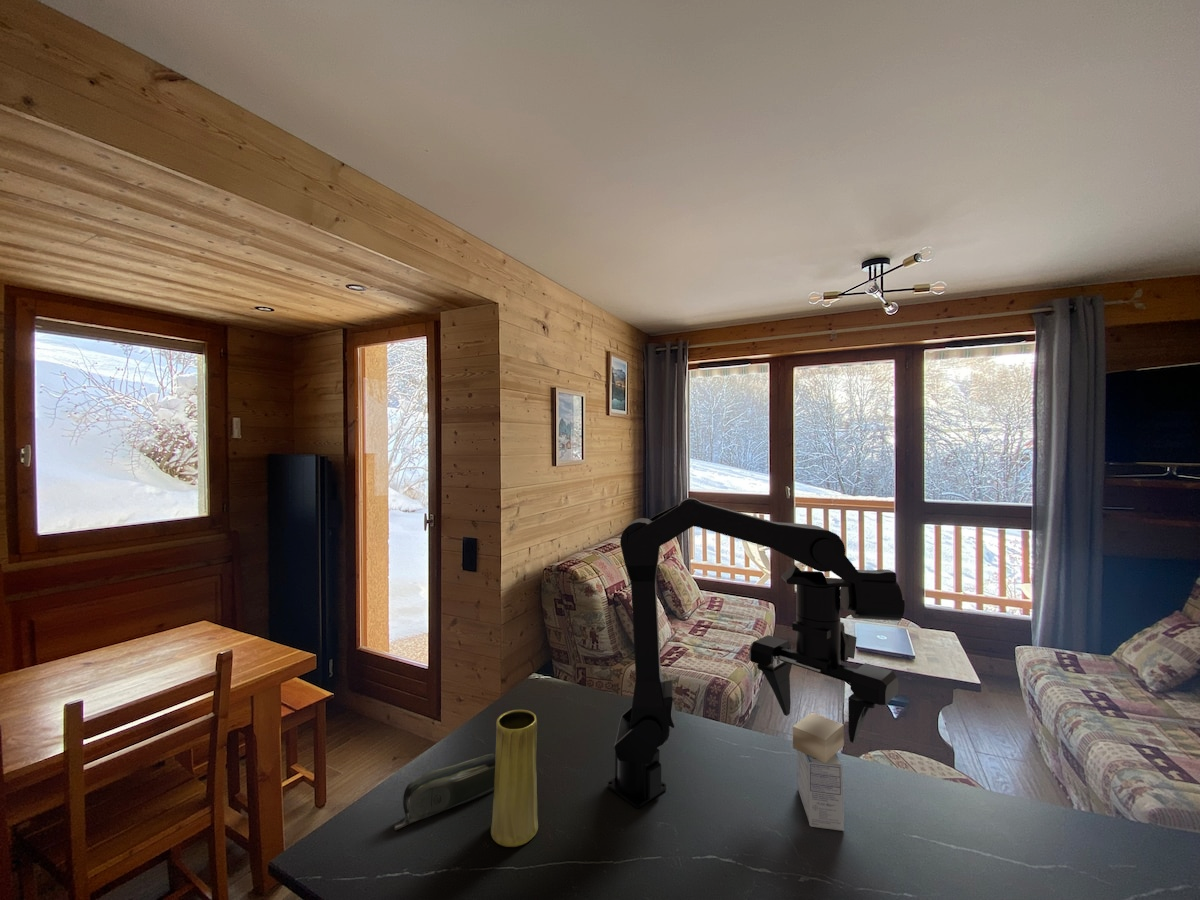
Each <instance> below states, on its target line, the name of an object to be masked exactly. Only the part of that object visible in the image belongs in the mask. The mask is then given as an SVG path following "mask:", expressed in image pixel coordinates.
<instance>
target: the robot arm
mask: <svg viewBox="0 0 1200 900" xmlns="http://www.w3.org/2000/svg"><path fill="white" fill-rule="evenodd" d="M693 527H695V528H699V529H703V530H707V531H710V532H713V533H716V534H717V533H718V534H721V535H724V536H727V537H730V538H733V539H734V538H735V539H737V540H742V541H745V542H748V543H751V544H756V545H759V546H762V547H766V548H770V549H772V550H774V551H777V552H778V553H780V554H783V555H784V556H786V557H788V558H790V559H792V560H794V561H796V562H798V563H800V564H803V565H805V566H807V567H809V568H811V569H813V570H801V569H800V568H799V567H798V566H797V565H796V564H792V565H791V567H790V568H789V569H788V570H787V571H785V572H784V573H782V574H781V577H780V578H781V579H782V580H783V581H785V583H786V584H787V585H793V586H795V585H796V587H795V590H796V597H795V598H796V599H795V600H796V601H795V603H796V604H795V605H796V611H795V612H796V615H795V617H796V619H795V621H793V622H792V624H791V625H792V626H791V627H792V628H791V629H792V631H795V633H796V634H795V635H796V637H795V638H796V649H795V650H793V649H792V644H791V643H790V641H789V640H786V639H783V638H780V637H777V636H772V635H770V634H768V635H766V636H765V635H764V636H763V637H761V638H759V639H757V640H754V641H753V642H752V643H751V644H750V646H749V648H748V649H749V651H748V652H749V653H748V654H749V655H748V657H749V659H748V660H750V663H751V662H752V663H754V664H756V665H757V666H756V667H757V669H758V670H759V671H761V672H762V673H763V676H764V677H765V678H766V681H767V682H768V684H769V686H770V687H771V690H772V692H773V693H774V695H775V698H776V699H777V702H778V704H779V706H780V709H781V711H782V713H783V715H784V716H785V717H787V716H789V715H790V713H791V703H792V702H791V701H792V699H791V681H790V679H791V678H790V677H791V676H790V675H791V674H790V673H791V669H792V666H796V667H800V668H802V669H805V670H808V671H811V672H814V673H815V672H816V673H818V674H820V675H821V674H822V675H823V676H827V677H829V678H833V679H836V680H840V681H842V682H846V683H849V684H850V691H852V694H851V695H850V696H848V702H847V704H848V711H847V714H848V718H847V719H848V723H847V724H848V726H847V727H848V728H847V729H848V738H849V742H850V743H852V744H854V743H855V742H856V740H857V739H858V736H859V733H860V731H861V728H862V726H863V723H864V721H865V718H866V716H867V713H868V711H869V710H870V709H875V708H876V707H877V706H886V705H888V704H889V702H891V700H893V699H894V698H895V697H896V696H897V695H898V694H899V679H898V677H897V675H896V674H895V672H894V670H891V669H888V668H884V667H880V666H878V665H873V664H870V663H866V662H865V663H864V664H861V666H859V667H857V668H853V667H850V666H846V665H843V664H841V662H847V661H849V658H850V659H855V654H856V653H855V652H856V646H857V636H854V635H852V634H848V633H845V632H846V631H845V624H844V622H841V607H842V608H843V611H844V610H845V611H848V612H849V614H850V615H851V617H852V618H853V619H856V620H857V619H861V620H873V621H874V620H875V621H892V622H893V621H894V622H899V621H901V620H902V619H903V617H904V614H905V607H906V603H905V599H904V598H903V594H902V590H901V587H900V585H899V583H898V581H897V573H896V572H894V571H893V570H890V569H884V568H883V569H881V568H880V569H875V570H873V569H856V568H857V567H855V565H854V564H852V562H851V561H850V560H849V559H850V558H848V556H846V547H845V543H844V541H843V540H842V538H841V537H840V535H839V534H837V533H835V532H833V531H832V530H831V531H830V530H828V529H827V528H824V527H821V526H818V525H814V524H806V523H805V524H804V523H795V522H780V521H779V522H778V521H772V520H768V519H765V518H762V517H757V516H754V515H751V514H747V513H744V512H739V511H736V510H732V509H729V508H725V507H722V506H719V505H715V504H710V503H707V502H703V501H700V500H699V499H697V498H694V497H686V498H684V499H682V500H681V501H680V502H679V503H677V504H675V505H673V506H671V507H670V508H668V509H666V510H664V511H661V512H659V513H658V514H655V515H654V516H652V517H651V518H646V517H645V518H644V517H640V518H635V519H634V520H632V521H631V522H629V523H628V525H627V526H626V527H625V528H624V530H623V531H622V533H621V536H620V548H621V553H622V558H623V562H624V566H625V569H626V571H627V576H628V579H629V581H630V582H629V583H630V590H631V591H630V592H631V609H632V626H633V627H632V629H633V630H632V631H633V649H634V667H635V668H634V669H635V683H634V689H633V696H632V704H631V706H630V707H629V708H628V709H627V710H626V711H625V712H624V713H623V714H621V716H620V720H619V723H618V729H617V734H616V738H615V741H614V777H613V778H611V779H610V780H608V781H607V782H606V784H607V785H606V787H607V788H608V789H610V790H611V791H613V792H614V793H616V794H617V795H618V796H619V797H621V798H622V799H623V800H625V801H626V802H627V803H629V804H631V805H632V806H633V807H635V808H636V809H637V808H641V807H643V806H644V805H645V804H647V803H649V801H651V800H654V798H655V797H657V796H658V795H660V794H662V793H663V792H665V791H666V790H667V784H666V783H665V782H664V781H662V763H661V761H660V757H661V756H660V755H661V754H660V753H661V752H660V750H661V749H659V748H658V747H661V746H662V745H664V743H666V741H668V740H669V738H670V731H671V729H674V728H675V723H676V722H675V713H676V711H675V709H676V708H675V707H676V706H675V705H676V704H675V702H674V700H673V698H674V697H673V696H674V680H672V679H671V680H665V679H664V677H663V676H664V675H663V672H662V669H661V655H660V654H661V652H660V651H661V649H660V634H659V633H660V632H659V615H658V614H659V611H658V597H657V595H658V593H657V572H658V565H659V558H660V550H661V546H663V545H664V544H667V543H668V542H670V541H672V540H673V539H675V538H676V537H678V536H680V535H681V534H683V533H684V532H686V531H687V530H689V529H691V528H693ZM823 572H824V573H827V572H828V573H829V572H831V573H833V574H834V575H835V576H838V578H835V577H826V576H825V574H824V573H823Z"/></svg>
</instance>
